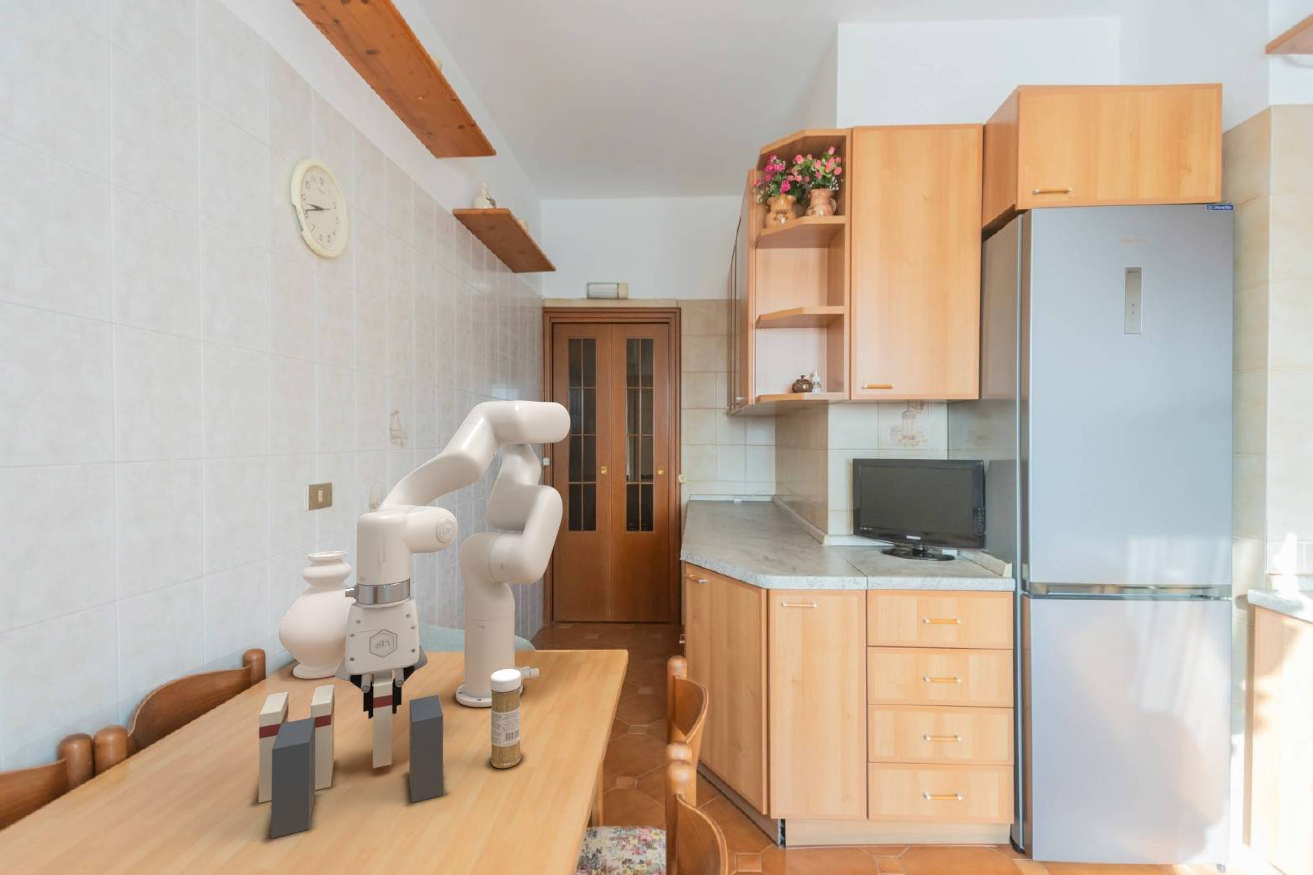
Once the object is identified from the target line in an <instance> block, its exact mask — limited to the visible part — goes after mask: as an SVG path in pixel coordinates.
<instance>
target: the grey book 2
mask: <svg viewBox="0 0 1313 875" xmlns="http://www.w3.org/2000/svg"><path fill="white" fill-rule="evenodd" d="M408 708H409V709H408V710H409V713H408V714H409V715H408V716H409V719H408V721H409V723H408V725H409V726H408V727H409V728H408V730H409V733H408V734H409V736H408V737H409V738H408V744H409V746H408V747H409V749H408V750H409V751H408V752H409V754H408V757H409V758H408V760H409V761H408V765H409V766H408V769H409V770H408V775H409V786H410V800H411V803H412V804H413V803H418V802H421V801H426V800H429V799H433V798H436V797H441V796H443V795H444V713H443V709H442V705H441V701H440V696H439V694H435V695H429V696H425V697H424V696H423V697H418V698H412V699H409V706H408Z"/></svg>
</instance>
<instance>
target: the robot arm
mask: <svg viewBox="0 0 1313 875" xmlns="http://www.w3.org/2000/svg"><path fill="white" fill-rule="evenodd" d="M570 429H571V417H570V414H569V411H568V410H567V408H566V407H565V406H564V405H563V404H561V403H559V402H553V401H551V402H550V401H533V400H494V401H493V400H492V401H491V400H490V401H483V402H481V403H478V404H477V405H475V406H474V407H473V408H472V409H471V410H470V412H469V413H468V414H467V415H466V417H465V419H464V420H463V421H462V423H461V424H460V426H459V427H458V428H457V430H456V431H455V433H454V435H452V437H451V439H450V440H449V441H448V442H447V444H446V446H445V447H444V449H443V450H442V451H441V452H440V453H438V454H437V455H436V456H434V457H432V458H430V459H429V460H427V461H426V462H424V463H423V464H421V465H420V466H419V467H417V468H415V469H414V470H413V471H411V472H409V473H408V474H406V475H405V476H404V477H403V478H402V479H401V480H399V481H398V482H397V483H396V484H395V485H394V486H393V487H392V489H391V490H390V491H389V492H388V493H387V495H386V496H385V498H384V499H383V500H382V501H381V504H380V505H379V507H378V508H377V510H376V511H372V512H371V511H370V512H366V513H363V514H362V515H360V516H359V517H358V519H357V523H356V560H355V561H356V562H355V565H356V568H355V569H356V570H355V571H356V572H355V574H356V575H355V579H356V581H355V582H356V584H353V586H350V588H346V589H345V597H351V598H352V597H354V599H356V602H354V603H352V605H351V607H350V610H349V615H348V621H347V630H346V645H345V655H344V657H343V659H342V661H341V663H340V665H339V667H338V669H337V671H336V674H335V675H334V677H335V678H336V679H339V680H342V681H345V682H350V683H351V684H352V685H354V686H355V687H357V688H358V689H359V690H360V691H361V692H362V695H363V696H362V712H363V713H365V712H367V719H368V720H370V719H373V692H374V685H373V682H371V673H374V672H380V671H387V670H394V678H392V715H397V714H398V707H399V706H402V705H403V704H402V703H403V702H402V701H403V692H402V691H403V686H404V684H405V683H406V681H407V680H408V679H409V678H410V677H411V676H412V675H413V674H414V672H416V671H418V670H420V669H421V668H423V667H425V666H426V665H427V664H428V662H429V660H428V657H427V655H426V653H425V652H424V650H423V648H422V646H421V645H420V625H419V624H420V623H419V613H418V606H417V601H416V598H415V597H414V596H413V595H411V556H412V555H413V554H428V553H437V552H441V551H443V550H445V549H447V548H449V546H450V545H452V544H453V542H454V541H455V539H456V538H457V535H458V532H459V524H458V520H457V518H456V516H455V515H454V514H453V513H452V512H451V511H450V510H448V509H446V508H444V507H439V506H432V505H431V506H430V505H428V504H430V503H431V502H433V501H434V500H436V499H438V498H439V497H441V496H443V495H446V494H448V493H451V492H454V491H458V490H461V489H463V488H466V487H468V486H470V485H472V484H475V483H477V482H478V481H479V480H481V479H482V478H483V477H484V475H485V474H486V471H487V470H488V469H489V467H490V465H491V464H492V461H493V460H494V458H495V457H496V455H497V453H498V452H499V451H500V450H501V451H500V452H501V455H502V456H501V458H502V460H501V465H500V468H499V471H498V473H497V474H498V475H497V477H496V479H495V482H494V485H493V488H492V489H491V493H490V495H489V497H488V501H487V503H486V506H485V509H484V510H485V511H484V517H485V521H486V522H487V524H488V525H489V526H491V527H492V528H495V529H497V530H504V531H512V532H504V531H479V532H476V533H473V534H471V535H469V536H468V537H467V538H466V539H465V540H464V541H463V542H462V544H461V545H460V549H459V553H458V566H459V570H460V576H461V579H462V586H463V587H462V588H463V596H464V598H463V599H464V600H463V601H464V649H463V650H464V652H463V653H464V660H463V662H464V665H463V666H464V668H463V669H464V670H463V672H464V673H463V674H464V677H463V678H464V682H463V683H462V684H461V685H459V686H458V687H457V688H456V691H455V699H456V701H457V702H458V703H459V704H461V705H464V706H467V707H474V708H488V707H489V708H490V707H492V691H491V688H490V678H491V675H492V674H493V673H495V672H497V671H499V670H504V669H515V670H518V671H519V672H520V673H521V685H520V695H521V694H522V693H523V688H524V684H523V682H524V681H526V680H534V679H539V677H540V670H539V668H538V667H534V668H530V667H531V666H530V665H527V666H522V667H518V666H517V665H516V662H515V661H516V660H515V659H516V658H515V657H516V646H515V645H516V643H515V642H516V637H515V636H516V605H515V604H516V603H515V597H514V594H513V591H512V589H511V587H510V585H509V584H513V585H533V584H536V583H537V582H538V581H539V580H540V579H542V578H543V576H544V574H545V573H546V570H547V568H548V565H549V563H550V559H551V556H552V552H553V549H554V545H555V543H556V539H557V537H558V534H559V530H560V526H561V523H562V519H563V511H564V510H563V508H564V507H563V500H562V497H561V495H560V492H559V491H558V490H557V489H556V488H554V487H552V486H551V485H546V484H545V485H544V484H539V481H540V478H541V475H542V466H541V462H540V459H539V458H538V456H537V454H536V453H535V451H534V450H533V447H532V445H533V444H534V445H539V444H540V445H542V444H554V443H560V442H561V441H563V440H564V439H565V438H566V437H567V435H568V434H569V432H570ZM517 532H522V533H517ZM361 674H362V675H361Z"/></svg>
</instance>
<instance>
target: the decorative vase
mask: <svg viewBox="0 0 1313 875" xmlns="http://www.w3.org/2000/svg"><path fill="white" fill-rule="evenodd" d="M347 556H348V552H347V551H345V550H326V551H318V552H312V553H309V554H307V560H309V561H311V562H310V563H309V564H308V565H307V566H306V567H305V568H304V569H303V571H302V574H301V576H302V579H303V580H304V581H305V582H306V583H307V584H309V585H310V586H309V587H308V588H307V589H306V590H305V591H304V592H303V593H301V595H300V596H299V597H298V598H297V599H296V600H295V601H294V602H293V603H292V605H291V606H290V607H289V609H288V610H287V611H286V613H285V614H284V615H283V617H282V619H281V621H280V623H279V628H278V640H279V642H280V644H281V646H282V647H283V648H284V650H286V651H287V653H288V654H290V655H291V656H292V657H293V658H294V659H295V660H296V661H297V662H298V663H299V664H297V665H295V667H293V670H292V674H293V676H294V677H296V678H299V679H306V680H307V679H309V680H312V679H323V678H330V677H333V676H334V677H335V674H336V671H337V669H338V667H339V665H340V663H341V661H342V659H343V657H344V655H345V645H346V630H347V621H348V615H349V610H350V607H351V605H352V603H354V602H356V599H354V597H352V598H351V597H345V589H346V588H351V586H349V585H347V584H346V583H345V582H344V581H346V580H347V579H348V578H349V577H350V575H351V574H352V571H353V568H352V566H351V564H349V563H348V562H347V561H345V560H344V558H346V557H347Z"/></svg>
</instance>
